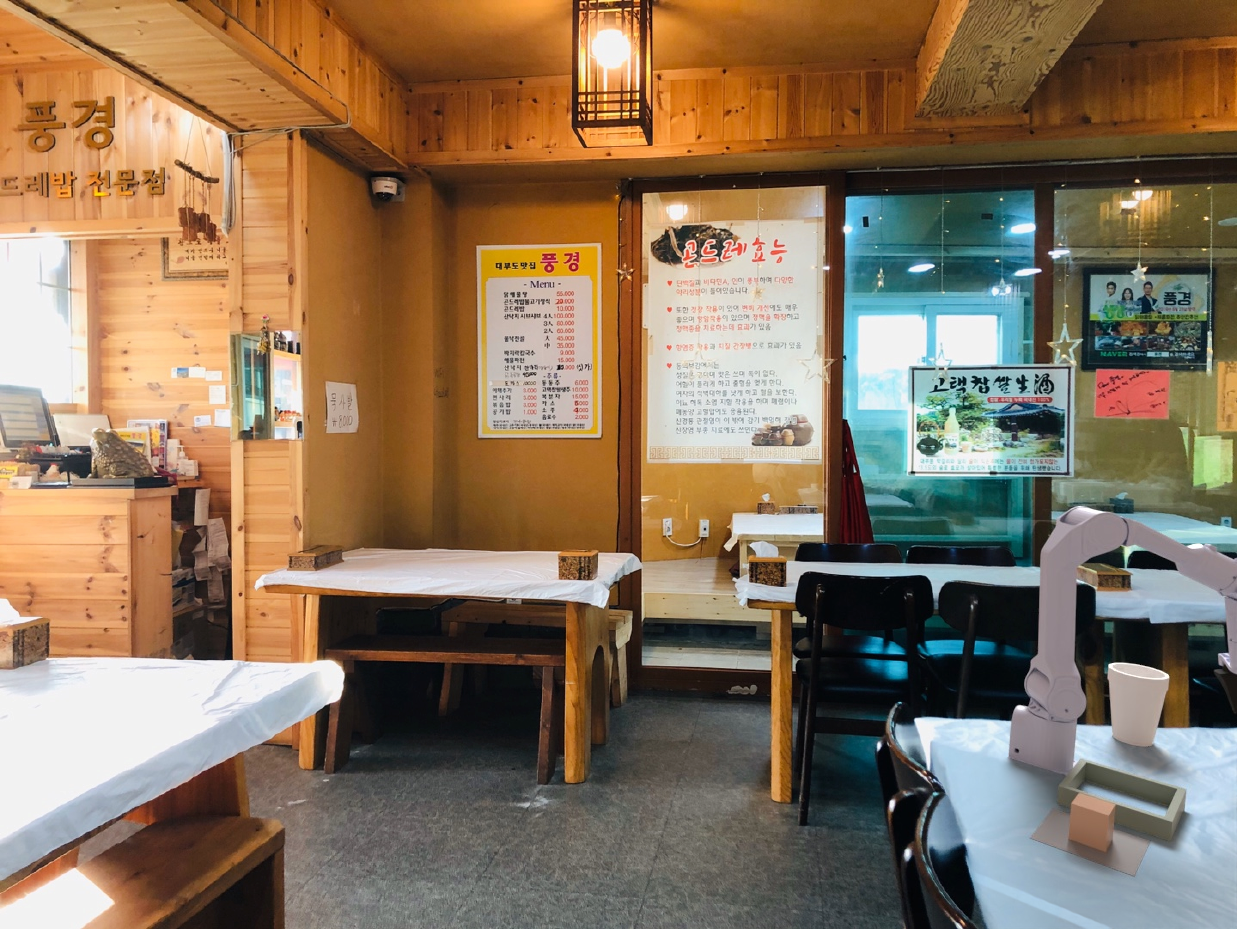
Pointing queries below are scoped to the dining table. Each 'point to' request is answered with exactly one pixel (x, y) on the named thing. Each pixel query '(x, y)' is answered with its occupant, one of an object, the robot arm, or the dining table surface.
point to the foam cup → (1136, 702)
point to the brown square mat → (1118, 856)
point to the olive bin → (1131, 786)
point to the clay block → (1092, 822)
